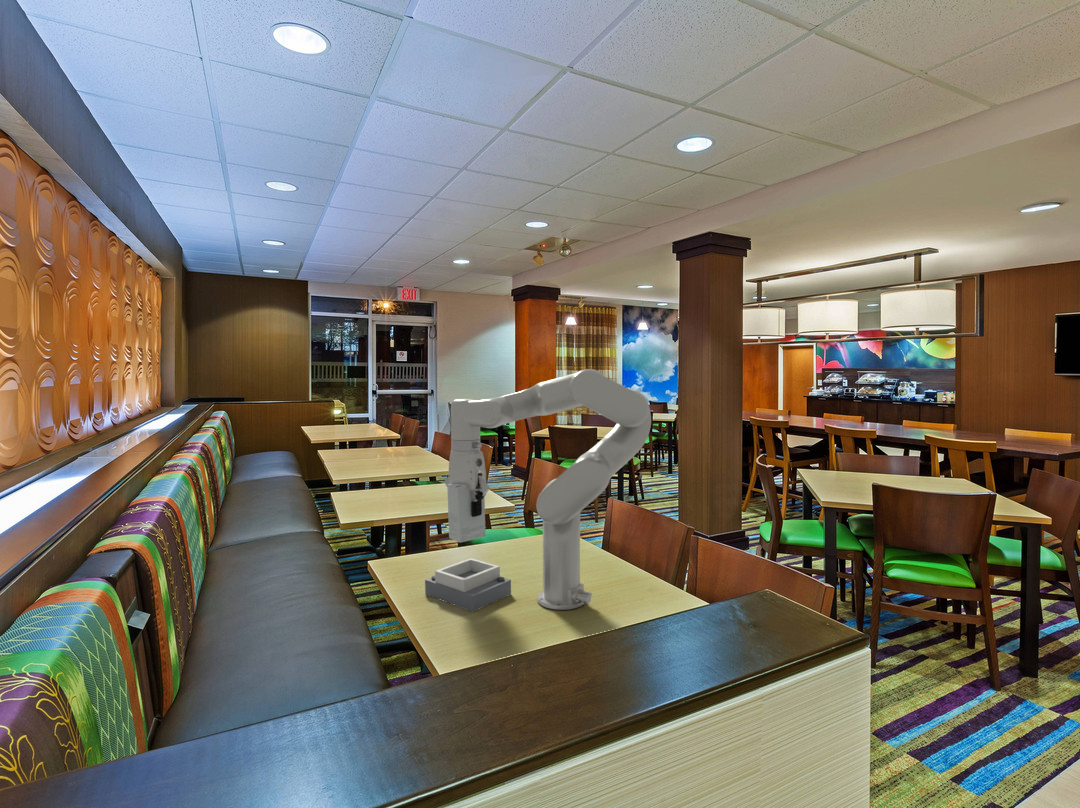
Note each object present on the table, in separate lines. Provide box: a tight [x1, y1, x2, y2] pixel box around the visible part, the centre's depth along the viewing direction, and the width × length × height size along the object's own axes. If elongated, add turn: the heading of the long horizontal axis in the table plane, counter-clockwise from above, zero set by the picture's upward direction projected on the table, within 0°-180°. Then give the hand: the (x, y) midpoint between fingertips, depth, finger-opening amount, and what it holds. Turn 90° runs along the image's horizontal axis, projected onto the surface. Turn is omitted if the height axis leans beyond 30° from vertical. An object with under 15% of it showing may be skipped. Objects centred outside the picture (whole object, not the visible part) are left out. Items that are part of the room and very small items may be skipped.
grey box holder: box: [424, 557, 512, 612], centre depth 149 cm, size 18×14×7 cm
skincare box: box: [446, 483, 487, 544], centre depth 148 cm, size 8×6×15 cm
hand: (466, 513), depth 148 cm, fingers closed on skincare box, 6 cm apart
